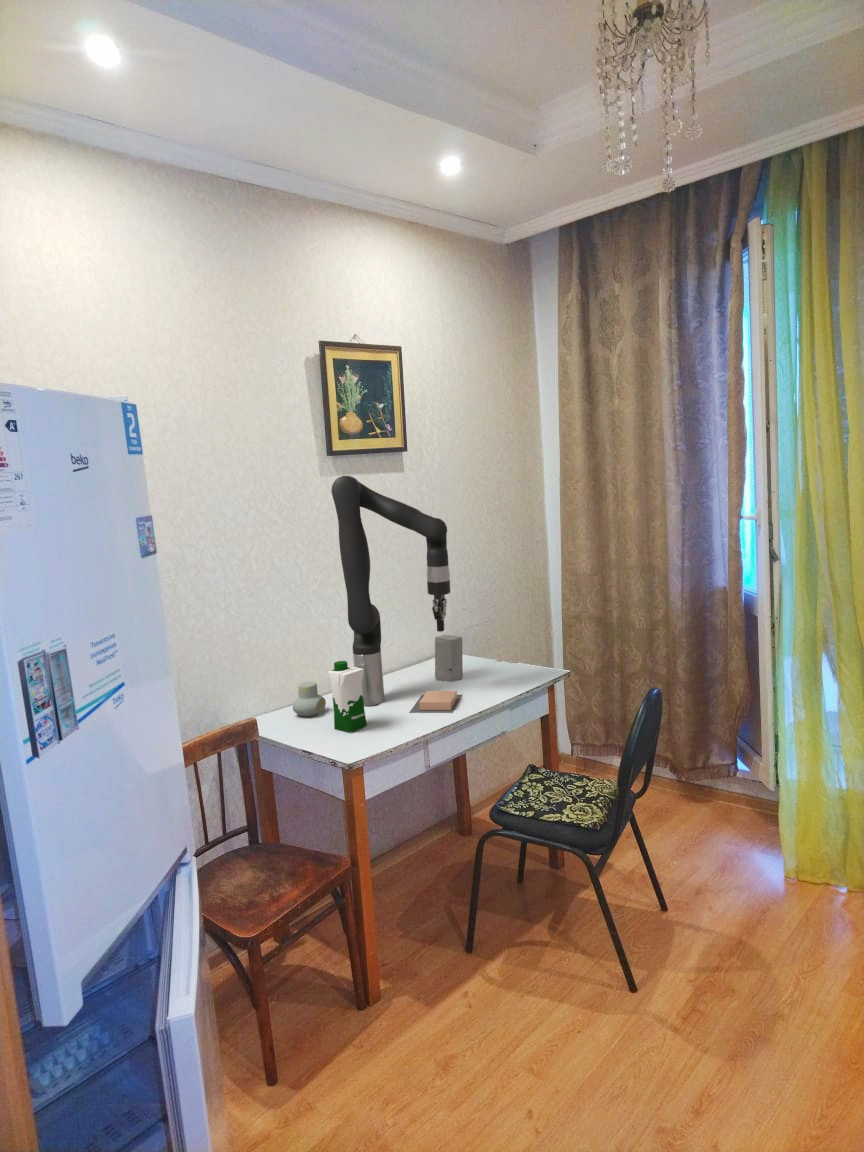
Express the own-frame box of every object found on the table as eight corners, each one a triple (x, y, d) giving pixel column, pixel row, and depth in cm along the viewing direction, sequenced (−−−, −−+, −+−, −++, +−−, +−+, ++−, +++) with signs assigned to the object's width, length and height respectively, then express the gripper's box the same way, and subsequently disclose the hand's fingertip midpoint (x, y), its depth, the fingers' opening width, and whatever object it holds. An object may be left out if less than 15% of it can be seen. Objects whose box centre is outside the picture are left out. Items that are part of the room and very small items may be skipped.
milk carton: (351, 721, 235) (345, 658, 232) (371, 726, 229) (366, 661, 226) (329, 729, 229) (324, 665, 226) (350, 734, 223) (345, 668, 220)
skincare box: (434, 680, 275) (432, 637, 273) (447, 675, 280) (444, 633, 278) (452, 683, 269) (450, 639, 267) (465, 678, 275) (462, 635, 273)
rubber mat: (409, 713, 238) (409, 712, 238) (422, 695, 257) (422, 694, 257) (452, 714, 235) (452, 712, 235) (462, 695, 254) (462, 694, 254)
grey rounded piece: (314, 719, 239) (311, 689, 238) (290, 719, 241) (287, 688, 240) (328, 708, 249) (326, 679, 248) (305, 708, 252) (303, 679, 250)
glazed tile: (427, 699, 251) (419, 710, 240) (427, 691, 251) (419, 702, 239) (457, 698, 249) (450, 710, 238) (456, 691, 249) (450, 702, 237)
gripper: (431, 576, 256) (433, 626, 258) (423, 582, 243) (425, 635, 245) (453, 576, 254) (455, 626, 257) (446, 582, 241) (448, 635, 244)
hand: (440, 631), depth 251 cm, fingers closed
